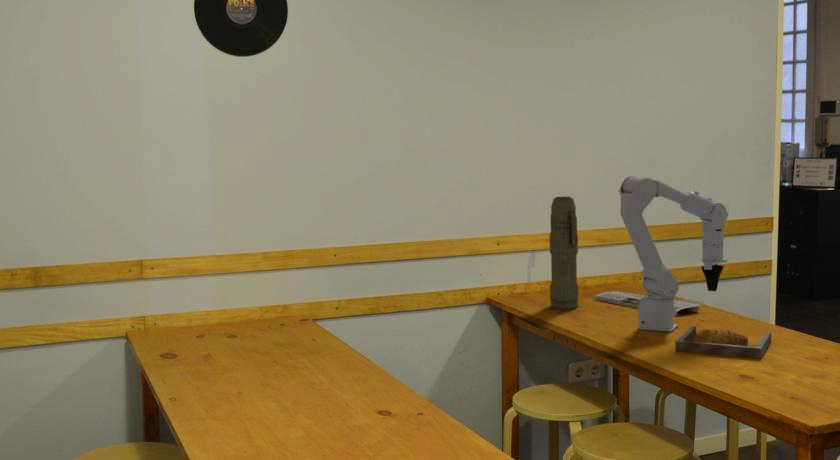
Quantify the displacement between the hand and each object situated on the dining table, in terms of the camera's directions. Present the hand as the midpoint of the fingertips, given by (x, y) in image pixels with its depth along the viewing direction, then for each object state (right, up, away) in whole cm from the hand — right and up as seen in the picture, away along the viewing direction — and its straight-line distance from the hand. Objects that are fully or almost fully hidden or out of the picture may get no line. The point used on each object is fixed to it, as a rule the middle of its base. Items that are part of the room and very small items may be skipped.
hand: (712, 290), depth 279 cm
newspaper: (-12, -7, +28) cm, 31 cm away
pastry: (-3, -13, -23) cm, 27 cm away
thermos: (-38, -7, +29) cm, 49 cm away
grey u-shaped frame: (-4, -13, -25) cm, 29 cm away
